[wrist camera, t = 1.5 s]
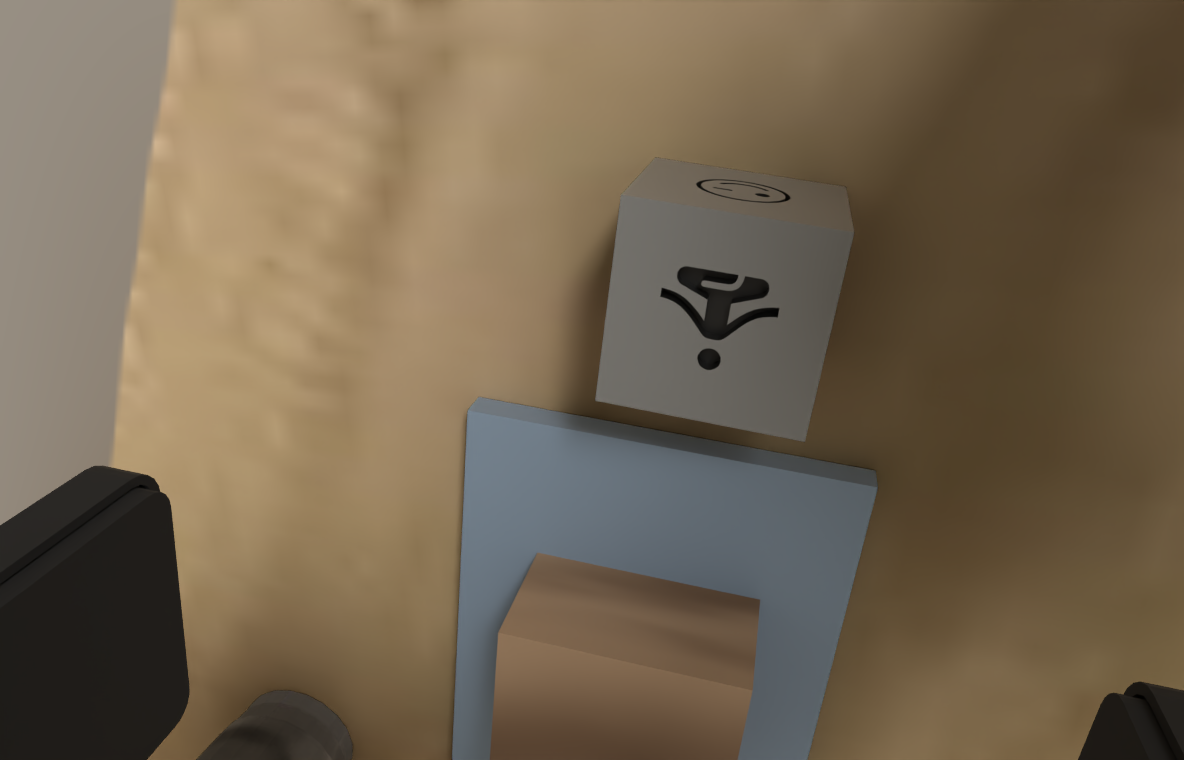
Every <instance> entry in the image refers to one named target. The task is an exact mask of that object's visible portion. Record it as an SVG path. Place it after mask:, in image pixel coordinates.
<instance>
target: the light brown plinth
mask: <svg viewBox="0 0 1184 760" xmlns="http://www.w3.org/2000/svg"><path fill="white" fill-rule="evenodd" d="M759 609H760V600H759V599H755V598H750V597H745V596H740V595H736V594H731V593H726V592H721V591H717V590H712V589H707V588H703V587H698V586H693V585H688V584H684V583H679V582H674V581H670V580H665V579H660V578H655V577H651V576H646V575H641V574H636V573H632V572H627V571H622V570H618V569H613V568H608V567H603V566H599V565H594V564H589V563H585V562H580V561H575V560H570V559H566V558H561V557H556V556H552V555H547V554H542V553H537V554H536V556H535V559H534V561H533V563H532V565H531V567H530V569H529V571H528V573H527V575H526V577H525V579H524V581H523V583H522V585H521V587H520V589H519V591H518V593H517V595H516V597H515V599H514V601H513V604H512V606H511V608H510V610H509V612H508V614H507V616H506V618H505V620H504V622H503V624H502V626H501V628H500V630H499V632H498V644H497V659H496V674H495V689H494V704H493V718H492V733H491V748H490V760H738V756H739V751H740V746H741V742H742V737H743V733H744V728H745V723H746V719H747V714H748V710H749V705H750V700H751V696H752V691H753V680H754V668H755V657H756V645H757V633H758V621H759Z"/></svg>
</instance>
